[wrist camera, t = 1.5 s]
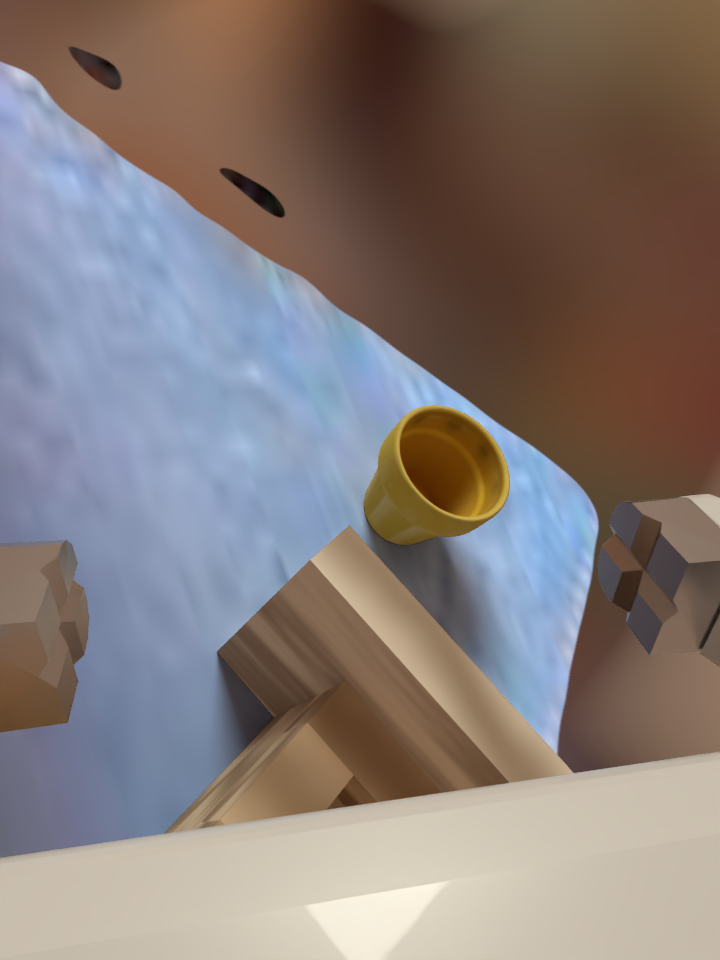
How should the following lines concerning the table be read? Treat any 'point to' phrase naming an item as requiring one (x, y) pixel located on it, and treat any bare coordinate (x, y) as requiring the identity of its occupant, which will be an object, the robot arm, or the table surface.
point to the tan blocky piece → (361, 701)
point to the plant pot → (436, 477)
